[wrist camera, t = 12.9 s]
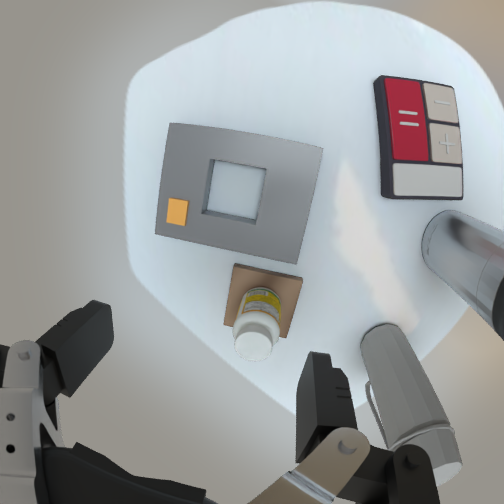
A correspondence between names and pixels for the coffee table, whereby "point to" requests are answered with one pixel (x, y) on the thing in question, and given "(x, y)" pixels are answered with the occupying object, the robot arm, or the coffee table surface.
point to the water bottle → (408, 401)
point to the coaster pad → (255, 277)
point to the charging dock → (272, 199)
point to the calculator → (418, 139)
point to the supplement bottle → (257, 324)
